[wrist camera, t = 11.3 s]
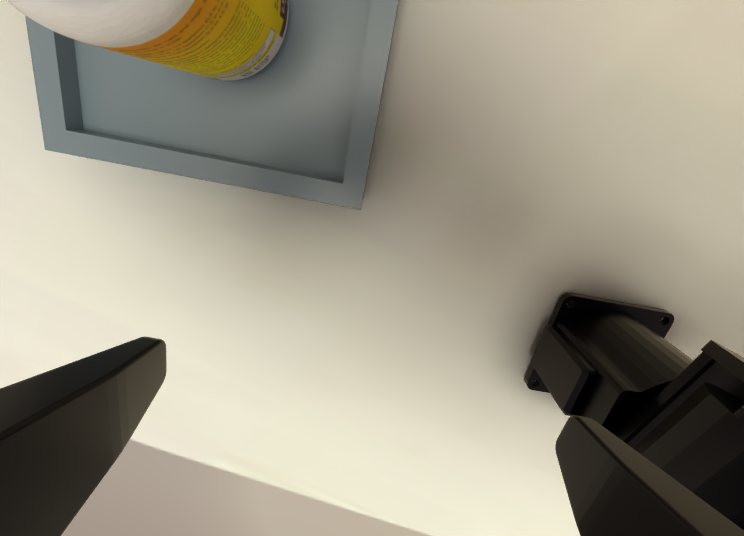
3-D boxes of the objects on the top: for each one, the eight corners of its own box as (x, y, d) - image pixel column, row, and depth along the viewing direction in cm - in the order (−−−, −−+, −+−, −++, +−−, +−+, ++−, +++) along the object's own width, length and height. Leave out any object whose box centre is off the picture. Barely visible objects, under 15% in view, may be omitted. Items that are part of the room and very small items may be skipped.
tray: (430, -177, 13) (438, -222, 11) (362, 201, 18) (360, 209, 16) (27, -283, 12) (-30, -348, 10) (77, 147, 17) (45, 149, 16)
